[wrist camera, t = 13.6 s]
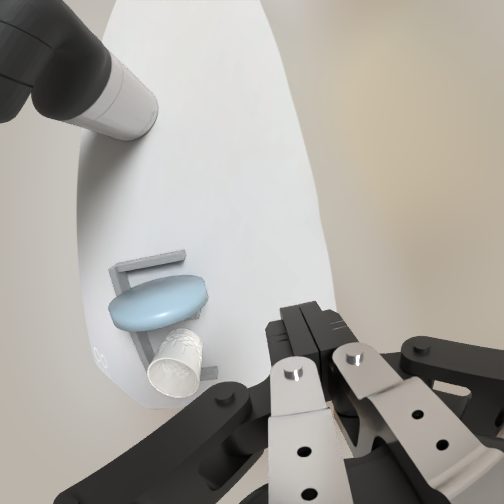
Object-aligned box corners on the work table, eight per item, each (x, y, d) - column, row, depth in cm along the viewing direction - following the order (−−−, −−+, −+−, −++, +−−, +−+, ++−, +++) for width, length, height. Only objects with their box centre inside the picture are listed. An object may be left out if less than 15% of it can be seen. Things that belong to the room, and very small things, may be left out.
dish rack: (204, 245, 42) (187, 274, 28) (235, 368, 47) (234, 424, 34) (117, 263, 42) (73, 294, 28) (157, 375, 47) (138, 427, 34)
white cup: (166, 361, 46) (153, 396, 37) (159, 324, 45) (141, 356, 35) (208, 362, 47) (202, 399, 37) (203, 324, 45) (195, 358, 35)
